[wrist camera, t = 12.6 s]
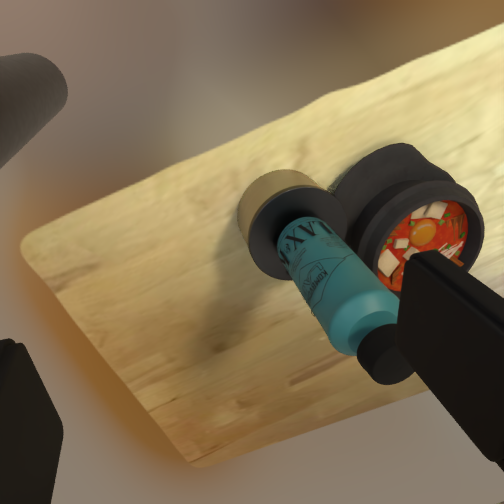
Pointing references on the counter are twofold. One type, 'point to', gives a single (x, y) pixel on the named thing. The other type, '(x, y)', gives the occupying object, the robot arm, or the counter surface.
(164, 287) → the counter surface
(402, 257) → the casserole
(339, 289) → the beverage bottle
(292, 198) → the gold round tin
